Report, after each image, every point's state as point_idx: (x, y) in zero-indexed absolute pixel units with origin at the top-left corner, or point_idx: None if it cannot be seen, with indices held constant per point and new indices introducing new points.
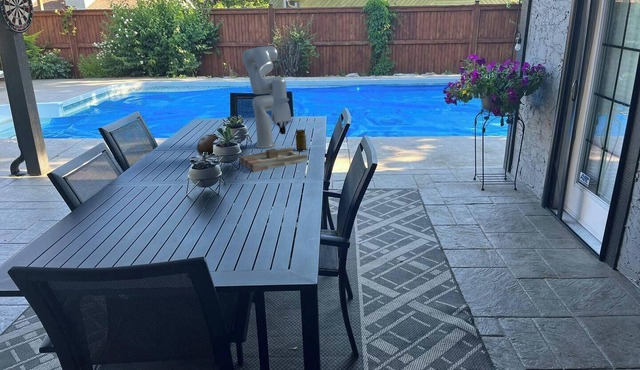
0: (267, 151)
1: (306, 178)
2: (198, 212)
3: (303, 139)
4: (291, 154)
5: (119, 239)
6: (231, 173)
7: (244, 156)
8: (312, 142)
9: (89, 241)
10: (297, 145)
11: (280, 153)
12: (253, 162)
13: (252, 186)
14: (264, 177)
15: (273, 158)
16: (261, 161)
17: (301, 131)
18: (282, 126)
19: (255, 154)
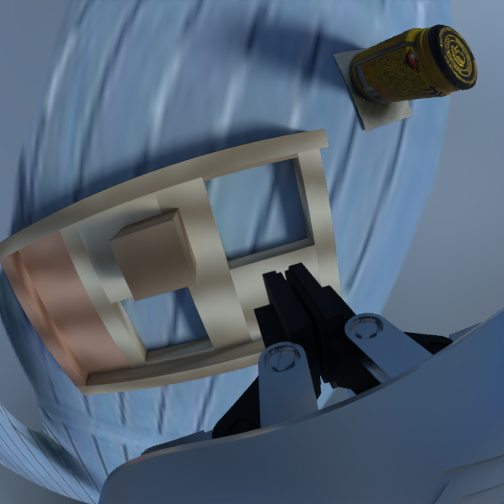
0: (120, 265)
1: None
2: (69, 474)
3: (427, 97)
4: (298, 177)
5: (29, 471)
6: (22, 350)
7: (9, 251)
8: (426, 10)
9: (7, 460)
10: (370, 78)
11: (226, 171)
12: (65, 308)
13: (120, 450)
14: (140, 422)
15: None
16: (100, 308)
17: (463, 86)
18: (331, 354)
19: (54, 229)
